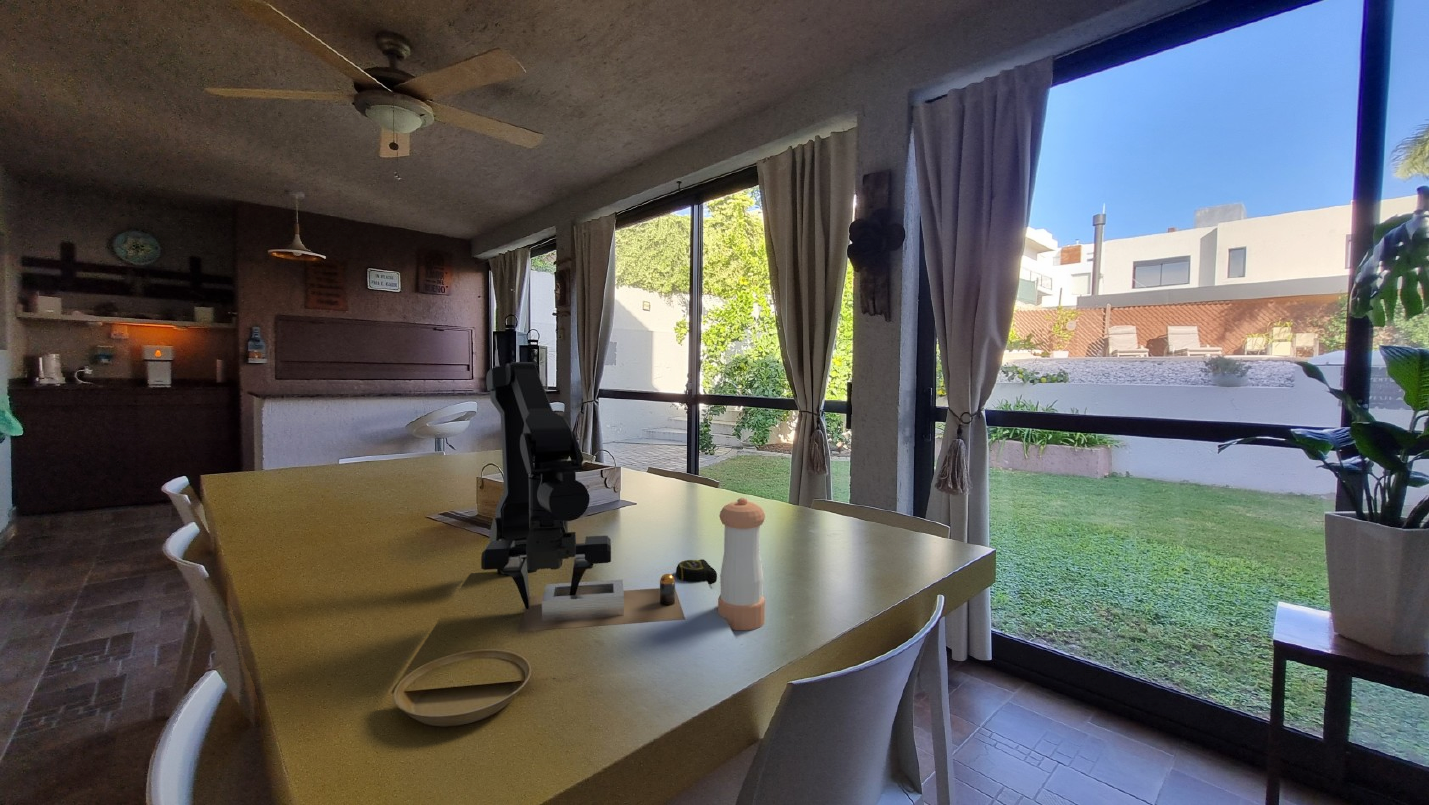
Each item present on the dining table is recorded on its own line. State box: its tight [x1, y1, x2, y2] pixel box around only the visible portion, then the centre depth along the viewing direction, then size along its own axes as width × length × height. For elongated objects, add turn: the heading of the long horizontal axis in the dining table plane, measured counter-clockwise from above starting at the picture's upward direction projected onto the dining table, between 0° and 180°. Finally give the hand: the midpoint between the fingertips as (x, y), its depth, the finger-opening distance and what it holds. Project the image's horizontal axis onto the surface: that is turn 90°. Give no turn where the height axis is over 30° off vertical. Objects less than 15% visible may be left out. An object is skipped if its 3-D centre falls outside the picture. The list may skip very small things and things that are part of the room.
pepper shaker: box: [717, 497, 766, 631], centre depth 89 cm, size 7×7×19 cm
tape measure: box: [675, 558, 718, 586], centre depth 105 cm, size 7×7×4 cm
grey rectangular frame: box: [542, 579, 625, 621], centre depth 89 cm, size 12×7×3 cm, turn 101°
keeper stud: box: [659, 573, 676, 606], centre depth 92 cm, size 2×2×5 cm
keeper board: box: [517, 587, 686, 633], centre depth 90 cm, size 24×13×2 cm, turn 101°
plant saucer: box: [393, 648, 532, 727], centre depth 67 cm, size 15×15×3 cm
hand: (549, 606), depth 88 cm, fingers open, 6 cm apart
